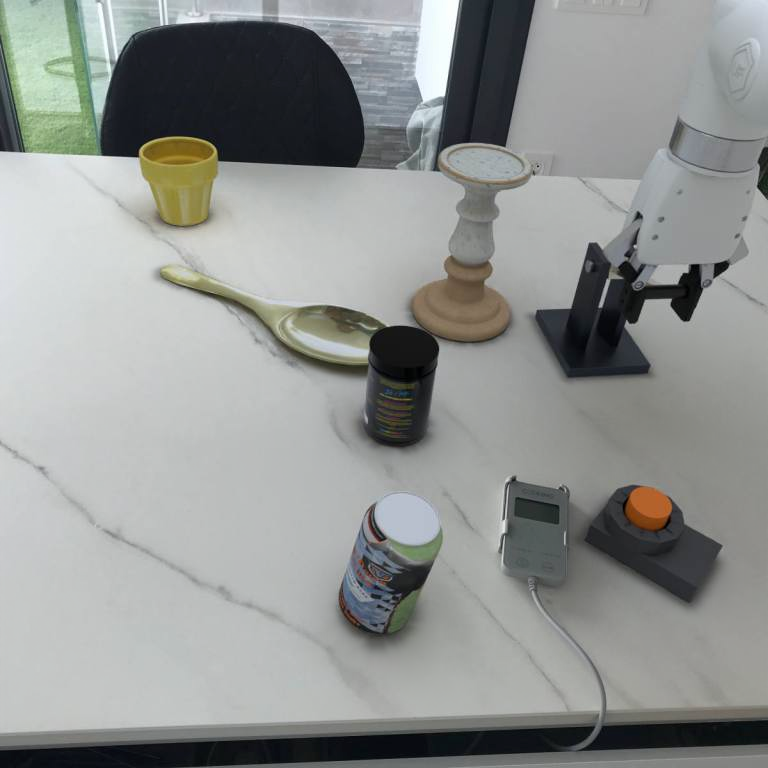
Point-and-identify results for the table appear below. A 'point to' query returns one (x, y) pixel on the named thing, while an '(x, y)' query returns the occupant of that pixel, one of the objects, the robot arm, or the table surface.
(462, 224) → the candle holder
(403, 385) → the supplement container
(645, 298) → the robot arm
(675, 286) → the t-shaped lever handle
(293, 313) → the spoon
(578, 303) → the black lever switch stand
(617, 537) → the button switch box
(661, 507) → the power button
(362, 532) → the beverage can
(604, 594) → the table surface
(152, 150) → the flower pot
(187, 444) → the table surface
